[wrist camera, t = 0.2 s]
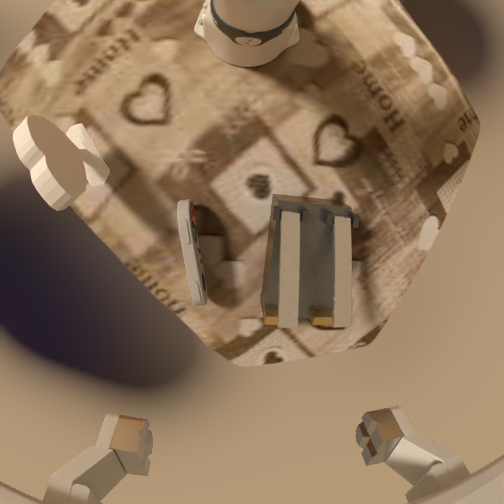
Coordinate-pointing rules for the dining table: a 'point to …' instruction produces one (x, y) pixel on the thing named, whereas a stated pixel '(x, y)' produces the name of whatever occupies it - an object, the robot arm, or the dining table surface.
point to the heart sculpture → (59, 160)
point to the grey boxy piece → (304, 257)
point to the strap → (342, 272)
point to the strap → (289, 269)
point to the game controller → (191, 251)
